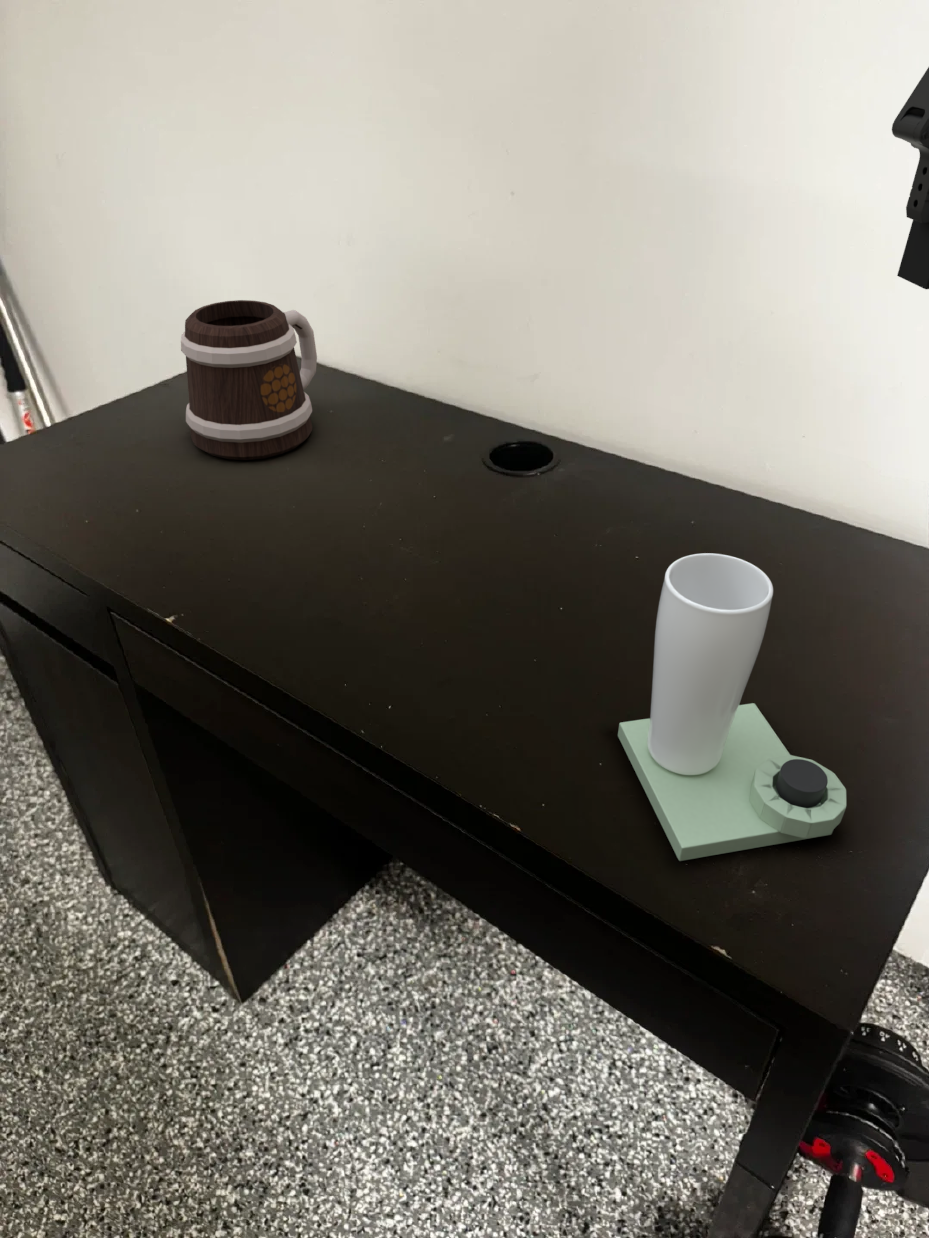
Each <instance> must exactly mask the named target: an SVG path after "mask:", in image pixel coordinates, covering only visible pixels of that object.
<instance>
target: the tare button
mask: <svg viewBox="0 0 929 1238" xmlns="http://www.w3.org/2000/svg"><path fill="white" fill-rule="evenodd" d="M827 783H828V779H827V776H826V774H825V772H824V771H823V770H822V769H821V768H820V767H819V766H818V765H816V764H814V763H812V762H810V761H807V760H802V759H793V760H789V761H787V762H785V763H784V764H783V765H782V767H781V769H780V773H779V776H778V779H777V782H776V789H777V792H778V794H779V795H780V797H781V798H782V799H783V800H785V801H786V802H788V803H789V804H791V805H794V806H798V807H803V808H810V807H814V806H816V805H818V804H819V803H820V802H821V800H822V798H823V795H824V792H825V789H826V786H827Z"/></svg>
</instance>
